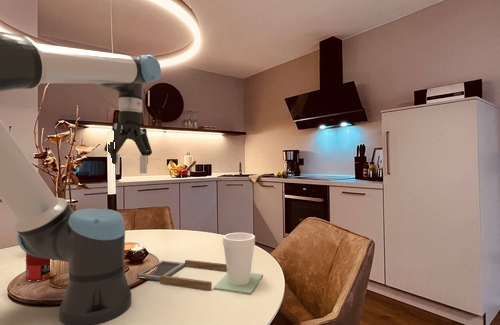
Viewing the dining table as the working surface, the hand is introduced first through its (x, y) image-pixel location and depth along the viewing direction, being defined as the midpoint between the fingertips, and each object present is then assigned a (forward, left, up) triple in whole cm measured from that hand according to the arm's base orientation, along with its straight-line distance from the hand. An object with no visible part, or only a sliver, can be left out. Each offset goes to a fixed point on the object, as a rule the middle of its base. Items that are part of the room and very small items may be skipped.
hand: (130, 173), depth 94 cm
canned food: (-15, +20, -32) cm, 41 cm away
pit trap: (-1, -14, -32) cm, 34 cm away
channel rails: (-1, -26, -32) cm, 41 cm away
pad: (-1, -40, -32) cm, 51 cm away
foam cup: (-1, -40, -31) cm, 51 cm away
